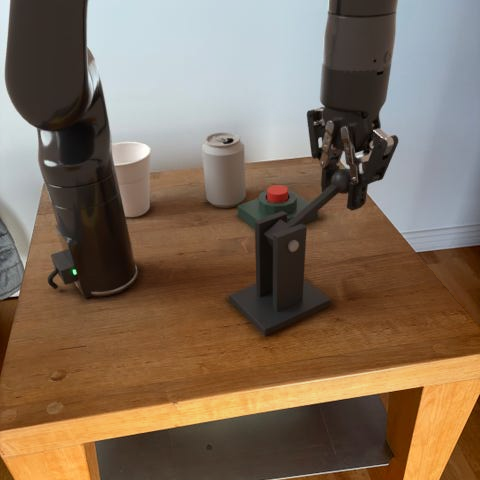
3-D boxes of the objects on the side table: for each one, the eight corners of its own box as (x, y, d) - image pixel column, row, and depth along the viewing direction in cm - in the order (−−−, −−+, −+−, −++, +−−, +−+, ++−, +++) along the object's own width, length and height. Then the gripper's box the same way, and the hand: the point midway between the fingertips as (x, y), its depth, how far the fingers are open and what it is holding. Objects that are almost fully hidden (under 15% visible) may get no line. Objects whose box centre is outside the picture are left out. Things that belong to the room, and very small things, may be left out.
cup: (161, 220, 90) (151, 161, 83) (105, 226, 89) (90, 167, 82) (159, 195, 97) (150, 139, 90) (107, 200, 96) (94, 144, 89)
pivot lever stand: (291, 275, 76) (294, 197, 67) (330, 306, 70) (338, 225, 61) (229, 301, 71) (223, 222, 63) (264, 336, 65) (264, 254, 57)
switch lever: (347, 177, 66) (341, 159, 64) (364, 186, 64) (359, 167, 62) (269, 245, 65) (260, 229, 63) (283, 257, 63) (275, 240, 61)
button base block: (266, 237, 84) (266, 216, 81) (237, 216, 90) (236, 195, 87) (317, 218, 88) (319, 197, 85) (287, 199, 94) (287, 179, 91)
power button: (275, 206, 85) (275, 196, 84) (263, 198, 87) (263, 188, 86) (292, 200, 86) (292, 190, 85) (279, 192, 88) (280, 183, 87)
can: (241, 211, 91) (239, 146, 83) (202, 208, 92) (195, 144, 85) (249, 192, 97) (247, 130, 89) (211, 190, 98) (206, 128, 90)
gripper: (290, 52, 58) (286, 188, 69) (377, 79, 49) (357, 232, 60) (339, 41, 61) (328, 174, 72) (431, 65, 52) (402, 214, 63)
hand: (341, 200), depth 66 cm, fingers open, 4 cm apart
